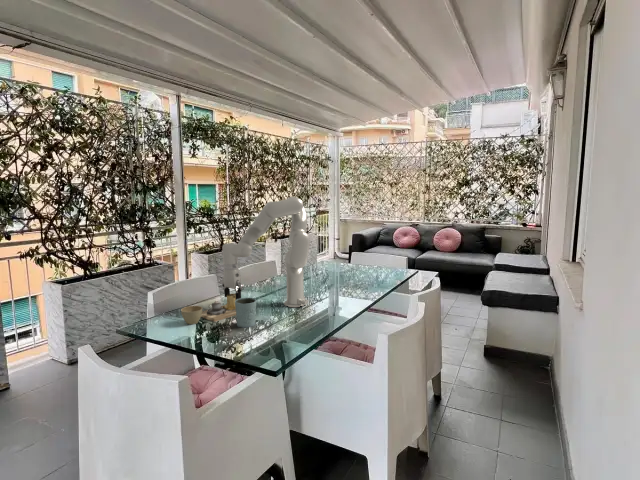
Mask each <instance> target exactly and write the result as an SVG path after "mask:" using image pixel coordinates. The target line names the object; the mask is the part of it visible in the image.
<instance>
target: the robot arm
mask: <svg viewBox="0 0 640 480" xmlns="http://www.w3.org/2000/svg"><path fill="white" fill-rule="evenodd" d="M289 216H290V217H291V225H290V230H289V231H290V233H289V238H288V240H289V241H288V242H290V245H291V247H290V249H288V250H287V252H286V253H285V255H284V256H285V257H284V262H285V271H286V272H285V273H286V277H285V279H286V300H285V301H284V303H283V304H284V306H285V307H287V306H288V307H287V308H300V306H302V307H305V306H306V305H307V304H308V303H309V300H308V299H306V296H305V295H304V294H305V291H304V267H305V266H306V264H307V262H308V257H309V250H310V244H311V241H310V235H309V234H308V233H307V228H308V227H307V226H308V214H307V211H306V209H305V207H304V201H302V199H301V198H298V197H294V196H290V197H287V198H286V199H283V200H278V201H268V202H267V203H266V204H265V205H264V206H263V208H262V209H261V211H260V212H259V213H258V215H257V217H256V218H255V219H254V221H253V222H252V223H251V225H250V226H249V228H247V230H246V231H245V233H244V234H243V235H242V236H241V238H240V239H239V241H238V243H234V242H233V243H225V244H222V246H221V247H222V263H223V279H222V280H221V281H220V282H221V285H222V287H223V290H224V291H223V292H224V293H223V295H224V298H227V294H231V290H230V289H233V290H234V291H235V296H236V300H237V299H240V298H242V291H243V287H244V284H243V283H242V277H241V271H240V269H239V261H238V258H249V257H250V256H251V255H252V253H253V246H254V245H255V243H256V242H257V240H259V238H260V237H261V236H263V235H265V234H266V233H267V232H268V230H269V228H270V227H271V226H272V224H273V222H274V221H276V219H280V218H284V217H289ZM304 305H305V306H304Z"/></svg>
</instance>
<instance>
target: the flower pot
mask: <svg viewBox="0 0 640 480" xmlns="http://www.w3.org/2000/svg"><path fill="white" fill-rule="evenodd" d="M202 311H203V307H202V306H199V305H187V306H185V307H182V308H181V309H180V312H181V315H182V318H183V320H184V322H185V323H186V324H187V325H197V324H198V323H199V322H200V319H201V318H202V317H201V314H202Z"/></svg>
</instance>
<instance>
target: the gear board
mask: <svg viewBox="0 0 640 480" xmlns="http://www.w3.org/2000/svg"><path fill="white" fill-rule="evenodd" d="M234 316H236V309H235V310H226V309H224V308H223V305H221V302H219V301H217V300H216V301H214V302H213V303H212V304H211V308H208V309H206V310H202V314H201V317H200V318H203V319H205V320H208V321H212V322H218V321H222V320H224V319H227V318H232V317H234Z"/></svg>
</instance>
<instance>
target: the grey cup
mask: <svg viewBox="0 0 640 480" xmlns="http://www.w3.org/2000/svg"><path fill="white" fill-rule="evenodd" d="M235 307H236V315H235V316H236V326H237V327H238V328H247V329H248V328H251V327H254V326H255V325H256V314H257V311H256V310H257V299H256V298H253V297H241V298H240V299H237V300H235Z"/></svg>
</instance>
